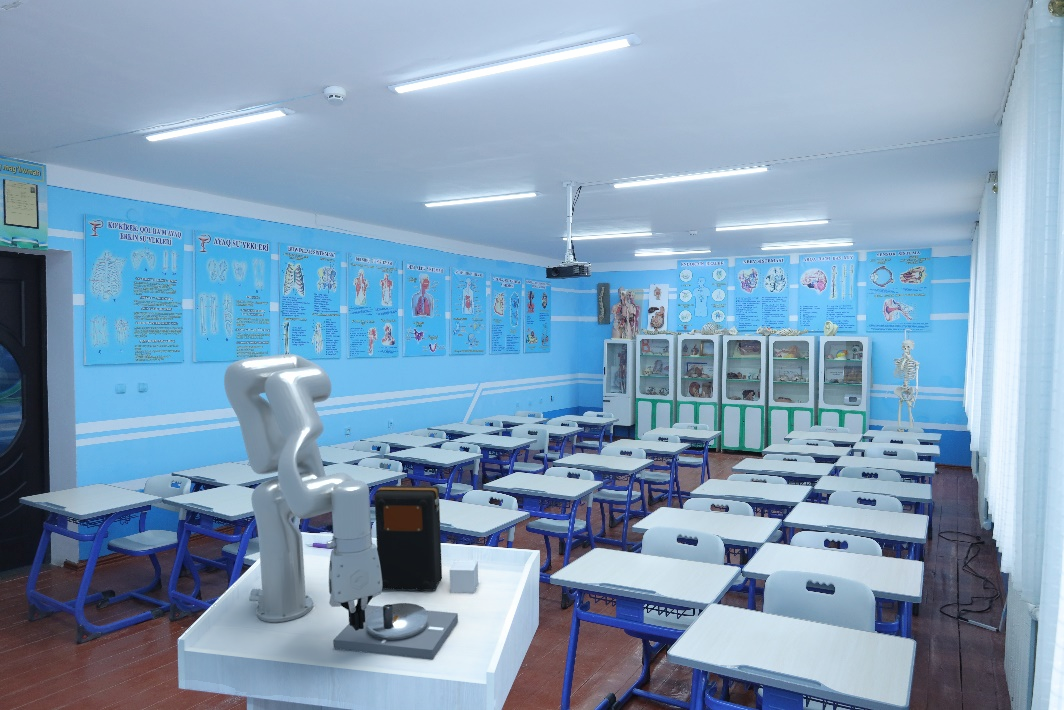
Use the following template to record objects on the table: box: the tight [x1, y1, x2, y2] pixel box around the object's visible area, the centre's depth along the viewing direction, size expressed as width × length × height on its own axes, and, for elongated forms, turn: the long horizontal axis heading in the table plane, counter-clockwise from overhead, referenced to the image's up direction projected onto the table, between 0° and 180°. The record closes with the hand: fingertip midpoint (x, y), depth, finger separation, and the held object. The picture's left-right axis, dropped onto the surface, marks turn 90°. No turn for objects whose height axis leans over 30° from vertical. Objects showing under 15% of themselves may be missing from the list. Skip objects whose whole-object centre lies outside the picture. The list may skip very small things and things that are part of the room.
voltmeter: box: [374, 485, 443, 591], centre depth 178 cm, size 16×9×25 cm, turn 84°
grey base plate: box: [332, 604, 459, 660], centre depth 155 cm, size 22×16×2 cm
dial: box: [367, 602, 428, 640], centre depth 154 cm, size 13×13×6 cm
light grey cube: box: [449, 559, 479, 594], centre depth 177 cm, size 6×6×6 cm
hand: (357, 627), depth 148 cm, fingers closed
